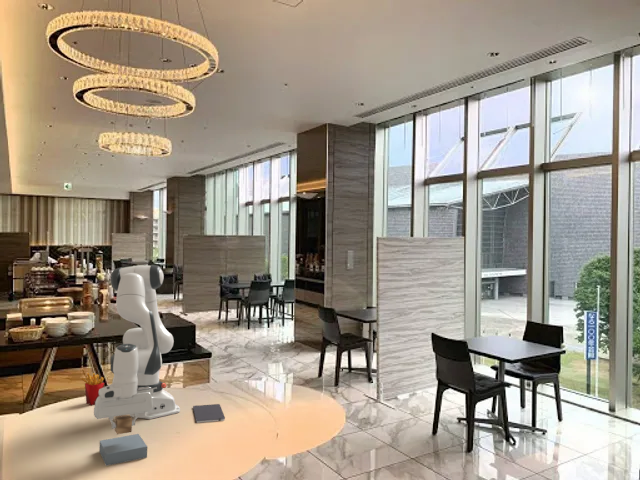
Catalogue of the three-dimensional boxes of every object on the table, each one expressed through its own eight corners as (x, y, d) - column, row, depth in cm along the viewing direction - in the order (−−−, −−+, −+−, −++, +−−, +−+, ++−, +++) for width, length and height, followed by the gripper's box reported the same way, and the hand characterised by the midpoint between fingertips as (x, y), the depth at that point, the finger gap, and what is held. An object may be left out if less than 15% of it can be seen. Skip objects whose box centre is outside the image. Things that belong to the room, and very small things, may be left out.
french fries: (96, 400, 240) (97, 370, 241) (105, 403, 236) (107, 372, 236) (79, 404, 233) (80, 373, 234) (88, 408, 228) (89, 376, 229)
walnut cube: (128, 427, 182) (129, 414, 182) (131, 432, 178) (132, 418, 178) (114, 429, 180) (115, 416, 180) (117, 434, 175) (117, 420, 175)
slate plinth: (138, 444, 188) (138, 433, 189) (147, 457, 177) (147, 446, 177) (99, 451, 181) (99, 440, 181) (105, 465, 169) (106, 454, 169)
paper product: (192, 409, 233) (196, 424, 213) (193, 405, 233) (196, 420, 213) (219, 407, 237) (225, 421, 217) (219, 403, 237) (225, 418, 217)
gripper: (151, 383, 188) (149, 419, 187) (94, 390, 177) (92, 428, 176) (155, 387, 182) (154, 424, 182) (96, 394, 171) (94, 434, 171)
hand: (123, 426), depth 179 cm, fingers closed on walnut cube, 5 cm apart
